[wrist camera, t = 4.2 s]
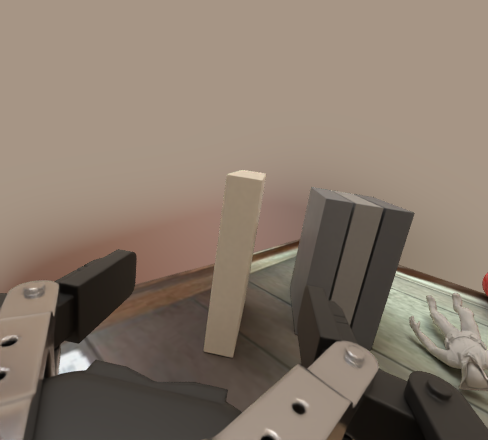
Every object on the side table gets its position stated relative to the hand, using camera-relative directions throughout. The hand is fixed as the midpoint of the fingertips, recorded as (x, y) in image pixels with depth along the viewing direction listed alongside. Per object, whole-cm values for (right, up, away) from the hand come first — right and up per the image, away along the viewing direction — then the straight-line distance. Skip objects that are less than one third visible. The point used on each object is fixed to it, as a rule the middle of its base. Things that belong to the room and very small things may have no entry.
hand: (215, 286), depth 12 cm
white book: (0, -7, +12) cm, 14 cm away
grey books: (+10, -7, +16) cm, 21 cm away
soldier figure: (+24, -9, +12) cm, 28 cm away
